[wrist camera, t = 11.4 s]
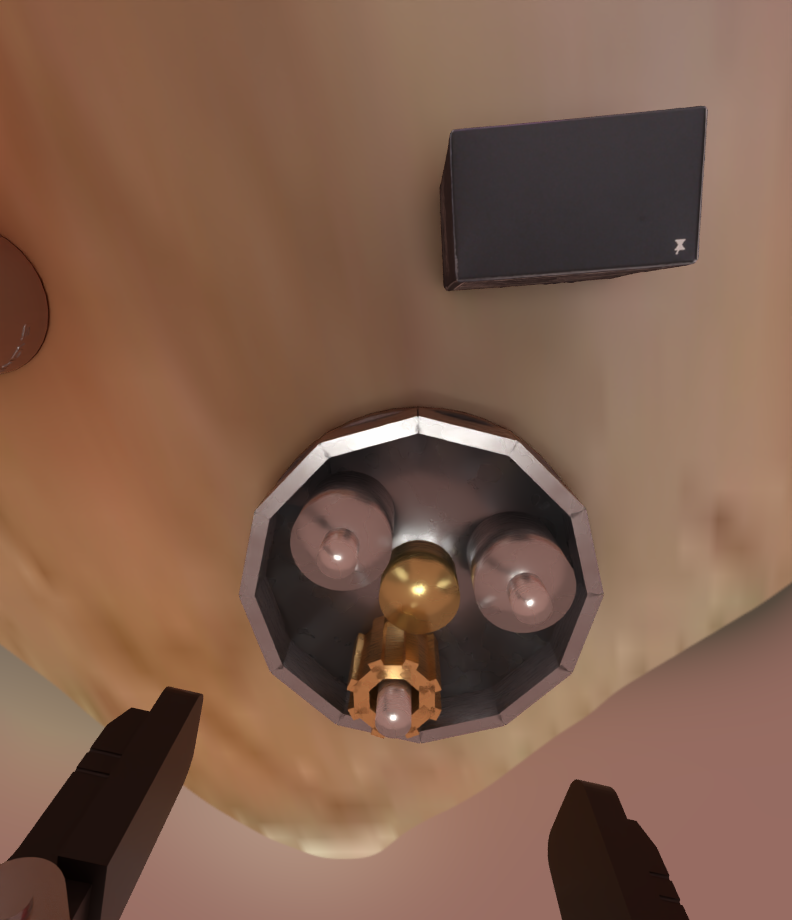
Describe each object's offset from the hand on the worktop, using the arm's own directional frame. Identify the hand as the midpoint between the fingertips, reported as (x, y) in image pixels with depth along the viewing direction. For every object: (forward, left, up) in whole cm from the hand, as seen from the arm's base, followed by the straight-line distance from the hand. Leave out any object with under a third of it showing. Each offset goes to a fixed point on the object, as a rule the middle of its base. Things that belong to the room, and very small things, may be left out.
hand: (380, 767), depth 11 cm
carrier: (+7, -6, -26) cm, 28 cm away
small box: (-4, +15, -26) cm, 31 cm away
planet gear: (+10, -11, -25) cm, 29 cm away
